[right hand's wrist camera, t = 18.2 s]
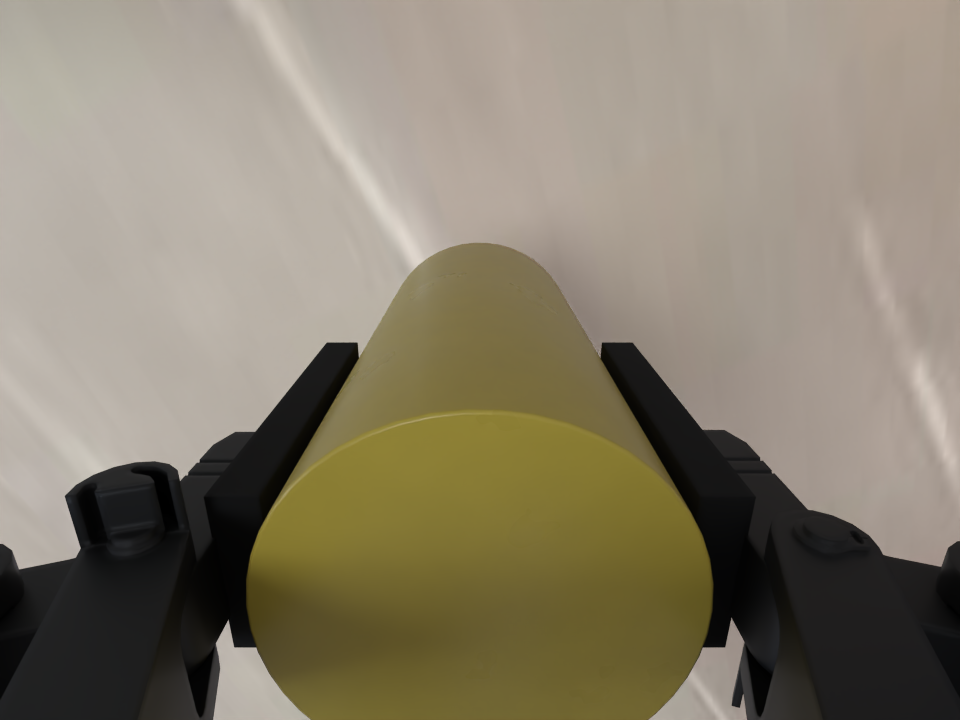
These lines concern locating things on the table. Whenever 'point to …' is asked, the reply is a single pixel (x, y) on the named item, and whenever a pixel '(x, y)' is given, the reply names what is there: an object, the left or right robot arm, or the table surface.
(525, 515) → the canister
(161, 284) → the table surface
